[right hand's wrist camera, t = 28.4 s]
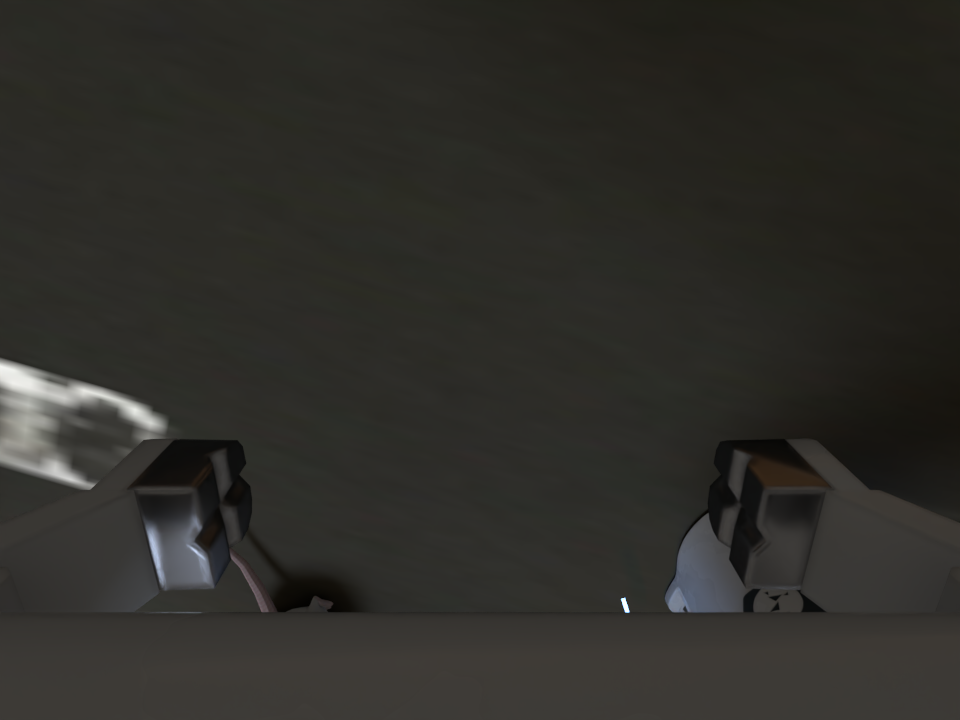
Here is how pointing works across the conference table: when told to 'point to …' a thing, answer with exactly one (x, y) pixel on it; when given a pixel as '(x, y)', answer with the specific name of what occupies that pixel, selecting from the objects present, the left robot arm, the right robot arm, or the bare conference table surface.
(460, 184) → the conference table surface
